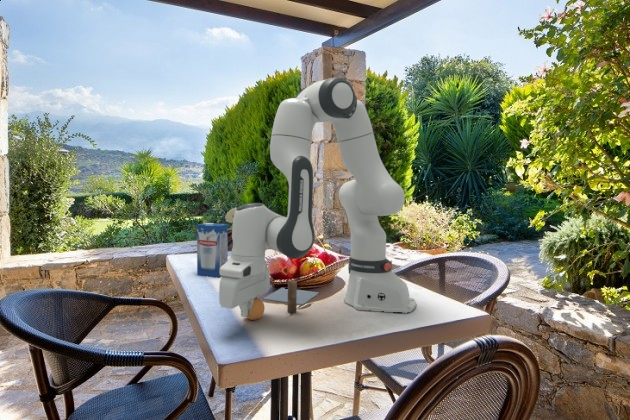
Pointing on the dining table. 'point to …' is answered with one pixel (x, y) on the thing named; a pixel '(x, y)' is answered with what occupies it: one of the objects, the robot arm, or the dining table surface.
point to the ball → (256, 309)
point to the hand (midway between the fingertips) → (245, 315)
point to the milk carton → (211, 248)
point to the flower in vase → (230, 218)
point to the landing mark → (282, 296)
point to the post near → (292, 296)
